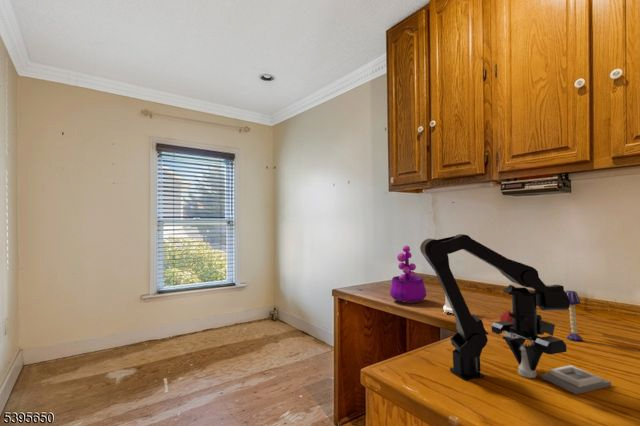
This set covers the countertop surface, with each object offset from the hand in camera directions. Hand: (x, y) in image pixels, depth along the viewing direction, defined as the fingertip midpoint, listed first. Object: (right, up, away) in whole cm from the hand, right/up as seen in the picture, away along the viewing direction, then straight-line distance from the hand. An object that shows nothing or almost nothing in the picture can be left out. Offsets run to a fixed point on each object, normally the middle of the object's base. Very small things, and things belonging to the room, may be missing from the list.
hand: (527, 367), depth 90 cm
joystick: (+5, -4, +63) cm, 63 cm away
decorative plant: (-10, -5, +84) cm, 85 cm away
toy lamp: (+32, -2, +25) cm, 41 cm away
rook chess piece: (0, -2, 0) cm, 2 cm away
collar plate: (+10, -2, -5) cm, 11 cm away
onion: (+16, -3, +36) cm, 39 cm away
